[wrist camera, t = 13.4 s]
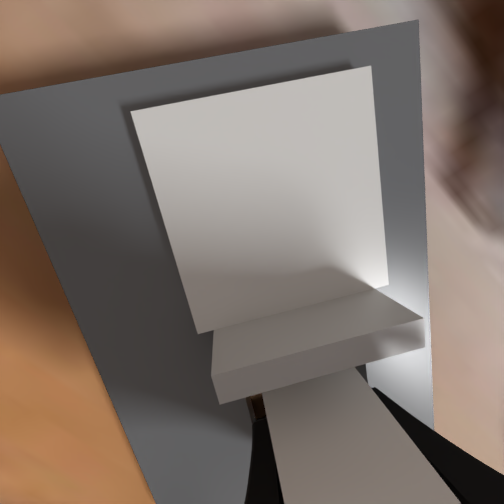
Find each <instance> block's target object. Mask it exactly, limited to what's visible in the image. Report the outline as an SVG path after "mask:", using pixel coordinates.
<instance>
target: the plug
mask: <svg viewBox="0 0 504 504" xmlns="http://www.w3.org/2000/svg"><path fill="white" fill-rule="evenodd" d="M262 396H263V401H264V406H265V411H266V416H267V421H268V426H269V431H270V435H271V440H272V445H273V450H274V455H275V460H276V465H277V470H278V475H279V480H280V484H281V489H282V494H283V499H284V504H461V503H460V501H459V500H458V499H457V497H456V496H455V495H454V494H453V492H452V491H451V490H450V488H449V487H448V486H447V485H446V483H445V482H444V481H443V479H442V478H441V477H440V476H439V474H438V473H437V472H436V471H435V469H434V468H433V467H432V465H431V464H430V463H429V462H428V460H427V459H426V458H425V456H424V455H423V454H422V453H421V451H420V450H419V449H418V447H417V446H416V445H415V444H414V442H413V441H412V440H411V438H410V437H409V436H408V435H407V433H406V432H405V431H404V430H403V428H402V427H401V426H400V424H399V423H398V422H397V421H396V419H395V418H394V417H393V415H392V414H391V413H390V412H389V410H388V409H387V408H386V406H385V405H384V404H383V403H382V401H381V400H380V399H379V397H378V396H377V395H376V394H375V392H374V391H373V390H372V389H371V387H370V386H369V385H368V383H367V382H366V381H365V380H364V378H363V377H362V376H361V374H360V373H359V372H358V371H357V369H356V368H355V367H352V368H349V369H345V370H342V371H338V372H334V373H331V374H327V375H324V376H320V377H317V378H313V379H310V380H306V381H302V382H299V383H295V384H292V385H288V386H285V387H281V388H277V389H274V390H270V391H267V392H263V393H262Z"/></svg>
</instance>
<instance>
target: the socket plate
mask: <svg viewBox="0 0 504 504" xmlns="http://www.w3.org/2000/svg"><path fill="white" fill-rule="evenodd" d="M366 66H371V70H372V83H373V95H374V107H375V120H376V132H377V145H378V157H379V169H380V182H381V194H382V206H383V219H384V231H385V243H386V256H387V268H388V281H389V285H386V286H382V287H379V288H375V289H376V290H378V291H379V292H381V293H383V294H384V295H386V296H388V297H389V298H391V299H393V300H394V301H396V302H398V303H399V304H401V305H403V306H404V307H406V308H408V309H409V310H411V311H413V312H414V313H416V314H418V315H420V316H421V317H423V318H424V332H425V347H424V348H420V349H417V350H413V351H409V352H406V353H402V354H399V355H395V356H392V357H388V358H384V359H381V360H377V361H374V362H370V363H367V364H363V365H359V366H356V367H355V368H356V369H357V371H358V372H359V373H360V374H361V376H362V377H363V378H364V380H365V381H366V382H367V383H368V385H369V386H370V387H371V388H374V387H376V388H377V389H379V390H380V391H381V392H383V393H384V394H385V395H386V396H388V397H389V398H390V399H392V400H393V401H394V402H395V403H397V404H398V405H399V406H401V407H402V408H403V409H405V410H406V411H407V412H409V413H410V414H411V415H413V416H414V417H415V418H417V419H418V420H420V421H421V422H422V423H424V424H425V425H427V426H428V427H429V428H431V429H432V430H434V413H433V387H432V360H431V334H430V308H429V282H428V255H427V229H426V203H425V176H424V150H423V124H422V98H421V71H420V45H419V20H414V21H408V22H403V23H397V24H392V25H386V26H380V27H375V28H369V29H364V30H358V31H353V32H347V33H341V34H336V35H330V36H325V37H319V38H314V39H308V40H302V41H297V42H291V43H286V44H280V45H275V46H269V47H263V48H258V49H252V50H247V51H241V52H236V53H230V54H224V55H219V56H213V57H208V58H202V59H196V60H191V61H185V62H180V63H174V64H169V65H163V66H157V67H152V68H146V69H141V70H135V71H130V72H124V73H118V74H113V75H107V76H102V77H96V78H91V79H85V80H79V81H74V82H68V83H63V84H57V85H52V86H46V87H40V88H35V89H29V90H24V91H18V92H12V93H7V94H1V95H0V145H1V147H2V149H3V152H4V154H5V156H6V159H7V161H8V163H9V166H10V168H11V170H12V172H13V175H14V177H15V179H16V182H17V184H18V186H19V189H20V191H21V193H22V195H23V198H24V200H25V202H26V205H27V207H28V209H29V212H30V214H31V216H32V219H33V221H34V223H35V225H36V228H37V230H38V232H39V235H40V237H41V239H42V242H43V244H44V246H45V249H46V251H47V253H48V255H49V258H50V260H51V262H52V265H53V267H54V269H55V272H56V274H57V276H58V279H59V281H60V283H61V285H62V288H63V290H64V292H65V295H66V297H67V299H68V302H69V304H70V306H71V309H72V311H73V313H74V315H75V318H76V320H77V322H78V325H79V327H80V329H81V332H82V334H83V336H84V338H85V341H86V343H87V345H88V348H89V350H90V352H91V355H92V357H93V359H94V362H95V364H96V366H97V368H98V371H99V373H100V375H101V378H102V380H103V382H104V385H105V387H106V389H107V392H108V394H109V396H110V398H111V401H112V403H113V405H114V408H115V410H116V412H117V415H118V417H119V419H120V422H121V424H122V426H123V428H124V431H125V433H126V435H127V438H128V440H129V442H130V445H131V447H132V449H133V452H134V454H135V456H136V458H137V461H138V463H139V465H140V468H141V470H142V472H143V475H144V477H145V479H146V482H147V484H148V486H149V488H150V491H151V493H152V495H153V498H154V500H155V502H156V504H244V502H245V497H246V491H247V485H248V477H249V469H250V461H251V450H252V424H253V423H254V422H256V421H259V420H263V419H266V418H267V417H264V418H261V419H257V420H256V417H255V413H254V410H253V406H252V402H251V398H250V396H249V397H245V398H242V399H238V400H235V401H231V402H228V403H224V404H219V401H218V397H217V394H216V391H215V387H214V384H213V381H212V377H211V368H212V351H213V334H214V330H212V331H208V332H204V333H201V334H198V333H197V330H196V327H195V323H194V320H193V317H192V313H191V310H190V307H189V303H188V300H187V297H186V293H185V290H184V287H183V284H182V280H181V277H180V274H179V270H178V267H177V264H176V260H175V257H174V254H173V251H172V247H171V244H170V241H169V237H168V234H167V231H166V227H165V224H164V221H163V217H162V214H161V211H160V208H159V204H158V201H157V198H156V194H155V191H154V188H153V184H152V181H151V178H150V175H149V171H148V168H147V165H146V161H145V158H144V155H143V151H142V148H141V145H140V141H139V138H138V135H137V132H136V128H135V125H134V122H133V118H132V115H131V112H130V111H135V110H141V109H146V108H151V107H156V106H162V105H167V104H172V103H177V102H183V101H188V100H193V99H198V98H204V97H209V96H214V95H219V94H225V93H230V92H235V91H240V90H245V89H251V88H256V87H261V86H266V85H272V84H277V83H282V82H287V81H293V80H298V79H303V78H308V77H314V76H319V75H324V74H329V73H335V72H340V71H345V70H350V69H356V68H361V67H366Z"/></svg>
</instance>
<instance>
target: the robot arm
mask: <svg viewBox="0 0 504 504" xmlns="http://www.w3.org/2000/svg"><path fill="white" fill-rule="evenodd" d="M371 389H372V390H373V391H374V392H375V394H376V395H377V396H378V397H379V399H380V400H381V401H382V403H383V404H384V405H385V406H386V408H387V409H388V410H389V412H390V413H391V414H392V415H393V417H394V418H395V419H396V421H397V422H398V423H399V424H400V426H401V427H402V428H403V430H404V431H405V432H406V433H407V435H408V436H409V437H410V438H411V440H412V441H413V442H414V444H415V445H416V446H417V447H418V449H419V450H420V451H421V453H422V454H423V455H424V456H425V458H426V459H427V460H428V462H429V463H430V464H431V465H432V467H433V468H434V469H435V471H436V472H437V473H438V474H439V476H440V477H441V478H442V479H443V481H444V482H445V483H446V485H447V486H448V487H449V488H450V490H451V491H452V492H453V494H454V495H455V496H456V497H457V499H458V500H459V501H460V503H461V504H504V475H503V474H501V473H499V472H497V471H496V470H494V469H492V468H491V467H489V466H487V465H486V464H484V463H482V462H481V461H479V460H478V459H476V458H474V457H473V456H471V455H470V454H468V453H466V452H465V451H463V450H462V449H460V448H459V447H457V446H456V445H454V444H453V443H451V442H450V441H448V440H447V439H445V438H444V437H442V436H441V435H439V434H438V433H437V432H435V431H434V430H432V429H431V428H429V427H428V426H427V425H425V424H424V423H422V422H421V421H420V420H418V419H417V418H415V417H414V416H413V415H411V414H410V413H409V412H407V411H406V410H405V409H403V408H402V407H401V406H399V405H398V404H397V403H395V402H394V401H393V400H392V399H390V398H389V397H388V396H386V395H385V394H384V393H383V392H381V391H380V390H379V389H377V388H376V387H374V388H371ZM244 504H284V499H283V494H282V489H281V484H280V480H279V475H278V470H277V465H276V460H275V455H274V450H273V445H272V440H271V435H270V431H269V426H268V421H267V418H266V419H263V420H259V421H256V422H254V423H253V424H252V450H251V461H250V469H249V477H248V485H247V491H246V497H245V502H244Z"/></svg>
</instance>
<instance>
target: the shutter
mask: <svg viewBox="0 0 504 504" xmlns="http://www.w3.org/2000/svg"><path fill="white" fill-rule="evenodd" d="M130 112H131V115H132V118H133V122H134V125H135V128H136V132H137V135H138V138H139V141H140V145H141V148H142V151H143V155H144V158H145V161H146V165H147V168H148V171H149V175H150V178H151V181H152V184H153V188H154V191H155V194H156V198H157V201H158V204H159V208H160V211H161V214H162V217H163V221H164V224H165V227H166V231H167V234H168V237H169V241H170V244H171V247H172V251H173V254H174V257H175V260H176V264H177V267H178V270H179V274H180V277H181V280H182V284H183V287H184V290H185V293H186V297H187V300H188V303H189V307H190V310H191V313H192V317H193V320H194V323H195V327H196V330H197V333H198V334H201V333H204V332H208V331H212V330H214V334H213V351H212V368H211V377H212V381H213V384H214V387H215V391H216V394H217V397H218V401H219V404H224V403H228V402H231V401H235V400H238V399H242V398H245V397H249V396H252V395H256V394H260V393H263V392H267V391H270V390H274V389H277V388H281V387H285V386H288V385H292V384H295V383H299V382H302V381H306V380H310V379H313V378H317V377H320V376H324V375H327V374H331V373H334V372H338V371H342V370H345V369H349V368H352V367H356V366H359V365H363V364H367V363H370V362H374V361H377V360H381V359H384V358H388V357H392V356H395V355H399V354H402V353H406V352H409V351H413V350H417V349H420V348H424V347H425V332H424V318H423V317H421V316H420V315H418V314H416V313H414V312H413V311H411V310H409V309H408V308H406V307H404V306H403V305H401V304H399V303H398V302H396V301H394V300H393V299H391V298H389V297H388V296H386V295H384V294H383V293H381V292H379V291H378V290H376V289H375V288H379V287H382V286H386V285H389V281H388V268H387V256H386V243H385V231H384V219H383V206H382V194H381V182H380V169H379V157H378V145H377V132H376V120H375V107H374V95H373V83H372V70H371V66H366V67H361V68H356V69H350V70H345V71H340V72H335V73H329V74H324V75H319V76H314V77H308V78H303V79H298V80H293V81H287V82H282V83H277V84H272V85H266V86H261V87H256V88H251V89H245V90H240V91H235V92H230V93H225V94H219V95H214V96H209V97H204V98H198V99H193V100H188V101H183V102H177V103H172V104H167V105H162V106H156V107H151V108H146V109H141V110H135V111H130Z"/></svg>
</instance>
